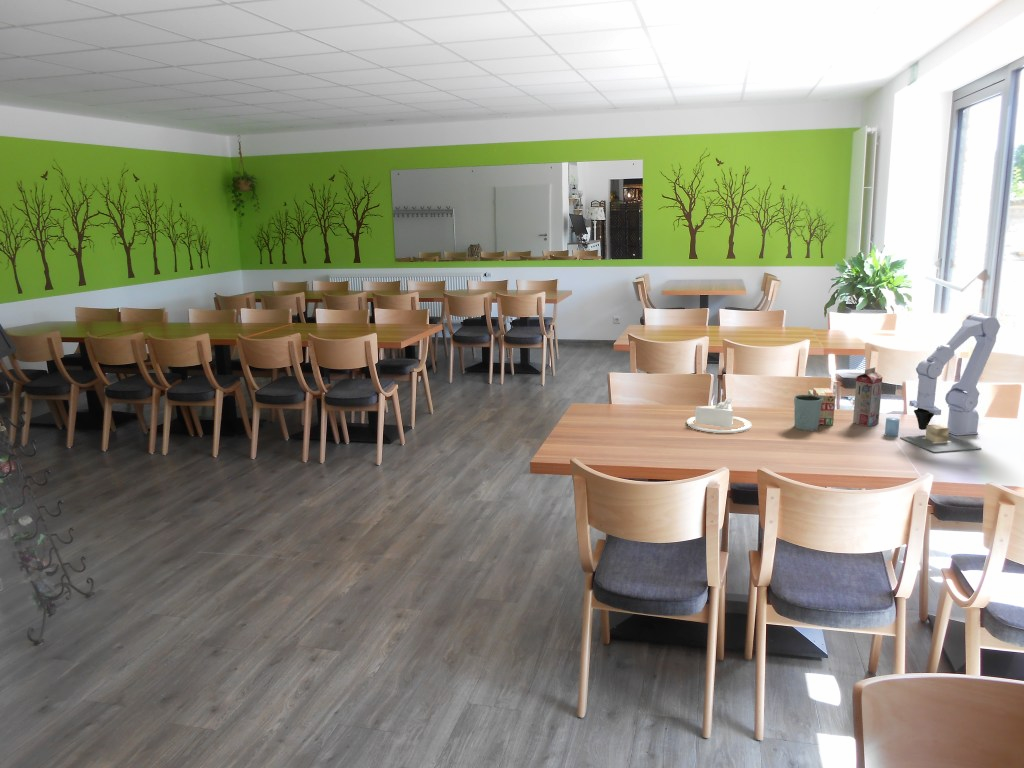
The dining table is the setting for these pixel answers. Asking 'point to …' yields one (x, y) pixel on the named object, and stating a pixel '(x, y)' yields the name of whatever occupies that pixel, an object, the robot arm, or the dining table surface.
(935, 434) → the maple block
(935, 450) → the letter board
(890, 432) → the blue capsule
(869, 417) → the juice carton
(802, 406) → the teal cup
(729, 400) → the dish
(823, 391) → the stack of blocks
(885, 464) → the dining table surface
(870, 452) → the dining table surface
